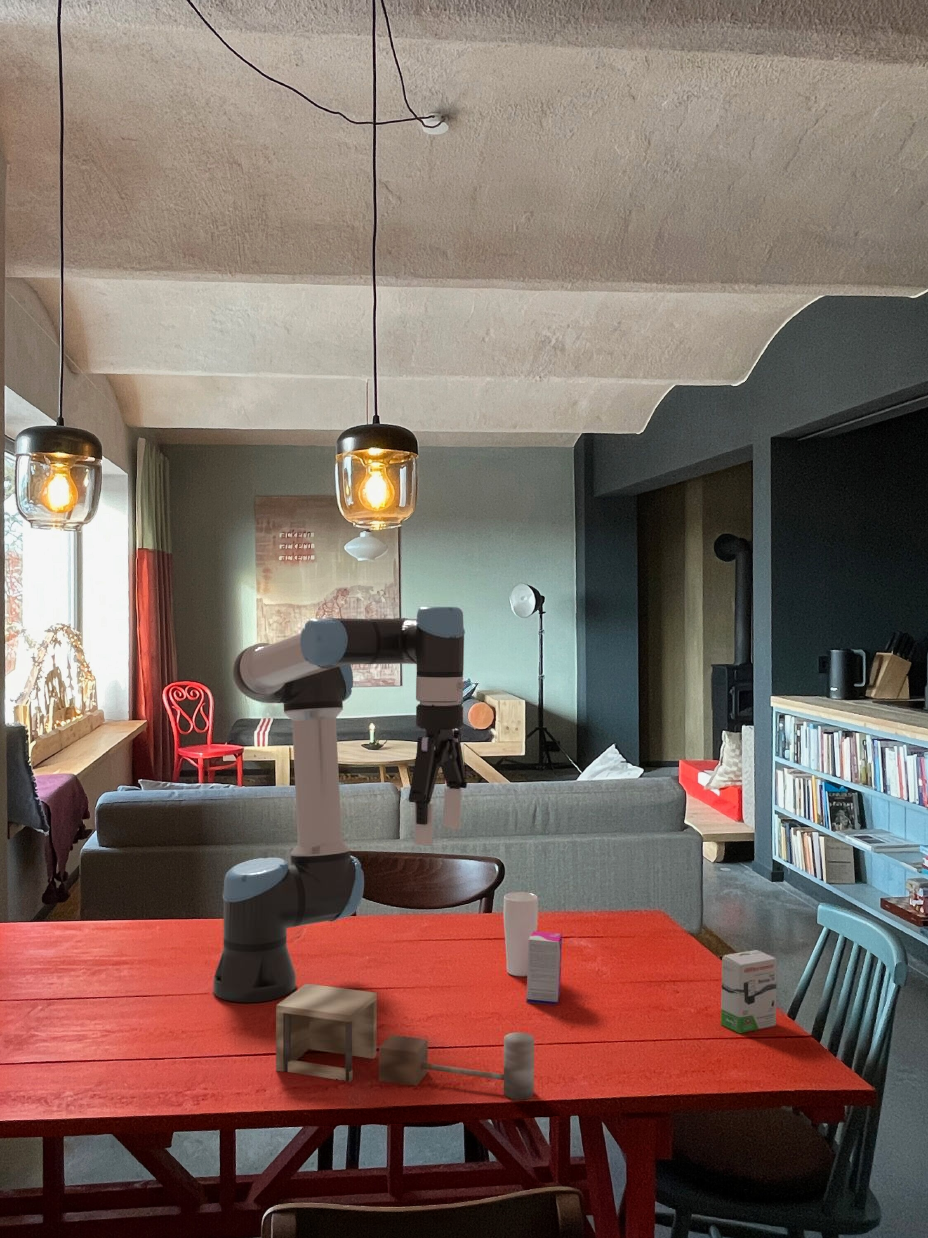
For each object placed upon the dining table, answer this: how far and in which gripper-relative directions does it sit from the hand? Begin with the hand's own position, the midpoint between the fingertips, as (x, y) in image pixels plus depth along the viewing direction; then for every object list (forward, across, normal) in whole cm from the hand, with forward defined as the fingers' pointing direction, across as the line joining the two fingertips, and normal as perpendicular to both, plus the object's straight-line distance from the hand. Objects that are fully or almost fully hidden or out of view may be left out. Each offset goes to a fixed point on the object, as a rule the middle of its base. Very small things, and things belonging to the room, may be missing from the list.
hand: (438, 836), depth 166 cm
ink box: (+35, +29, -46) cm, 65 cm away
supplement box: (+35, +29, -10) cm, 47 cm away
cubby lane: (+35, -9, +15) cm, 39 cm away
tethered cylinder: (+35, -9, -7) cm, 36 cm away
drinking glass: (+35, +41, -2) cm, 54 cm away
